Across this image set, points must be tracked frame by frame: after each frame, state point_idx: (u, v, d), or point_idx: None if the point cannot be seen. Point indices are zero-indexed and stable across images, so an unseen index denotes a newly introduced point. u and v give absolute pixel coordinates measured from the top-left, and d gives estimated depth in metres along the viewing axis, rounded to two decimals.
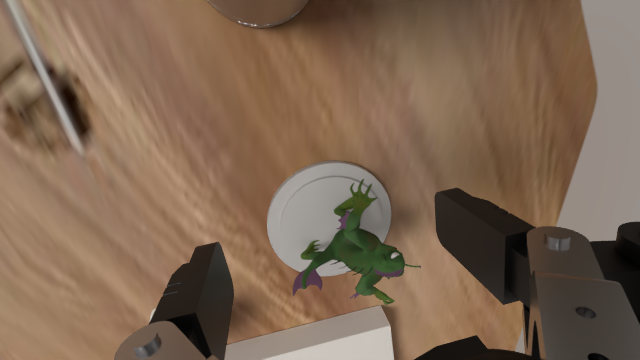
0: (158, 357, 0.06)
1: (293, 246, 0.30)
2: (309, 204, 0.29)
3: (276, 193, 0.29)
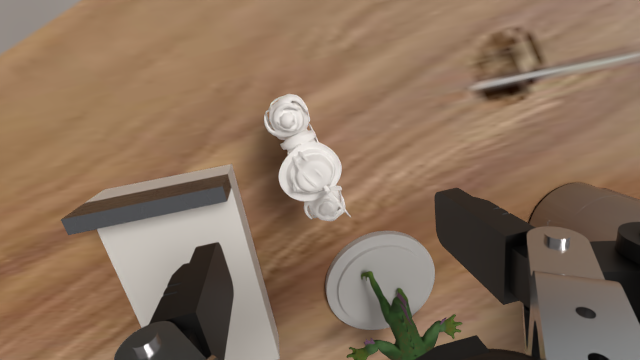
0: (158, 357, 0.06)
1: (367, 258, 0.32)
2: (406, 268, 0.33)
3: (414, 239, 0.33)
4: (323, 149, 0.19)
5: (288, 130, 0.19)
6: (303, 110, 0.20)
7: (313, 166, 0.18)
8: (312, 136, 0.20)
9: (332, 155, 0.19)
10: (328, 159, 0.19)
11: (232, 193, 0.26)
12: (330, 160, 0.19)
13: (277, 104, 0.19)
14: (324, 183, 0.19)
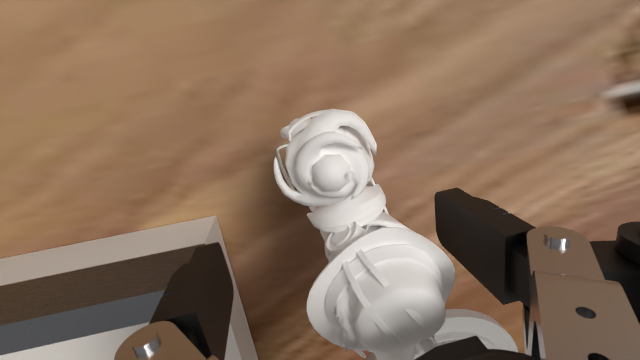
0: (158, 357, 0.06)
1: None
2: None
3: (494, 321, 0.22)
4: (418, 245, 0.08)
5: (331, 195, 0.08)
6: (364, 146, 0.09)
7: (403, 303, 0.07)
8: (381, 203, 0.09)
9: (436, 257, 0.08)
10: (432, 273, 0.08)
11: None
12: (435, 273, 0.08)
13: (306, 133, 0.08)
14: (424, 336, 0.07)
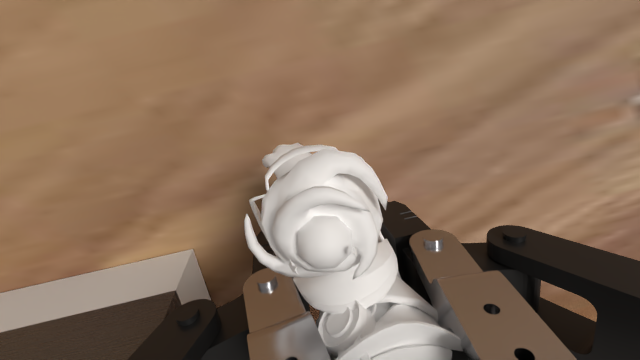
0: (272, 296, 0.07)
1: None
2: None
3: None
4: (447, 345, 0.05)
5: (325, 270, 0.06)
6: (369, 196, 0.06)
7: None
8: (392, 271, 0.07)
9: None
10: None
11: None
12: None
13: (288, 182, 0.06)
14: None
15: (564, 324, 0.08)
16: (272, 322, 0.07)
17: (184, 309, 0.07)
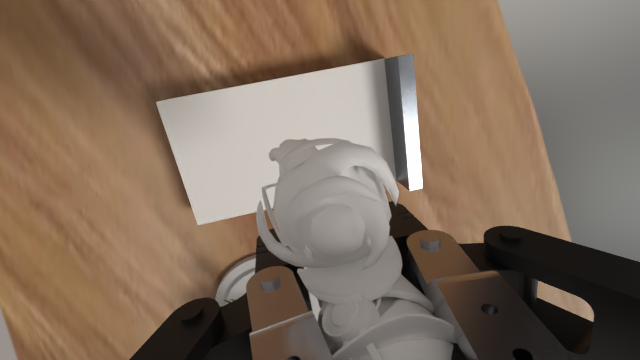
0: (275, 295, 0.07)
1: None
2: None
3: None
4: (451, 340, 0.06)
5: (334, 260, 0.06)
6: (380, 191, 0.06)
7: None
8: (397, 266, 0.07)
9: None
10: None
11: None
12: None
13: (304, 171, 0.06)
14: None
15: (561, 324, 0.08)
16: (275, 321, 0.07)
17: (187, 307, 0.07)
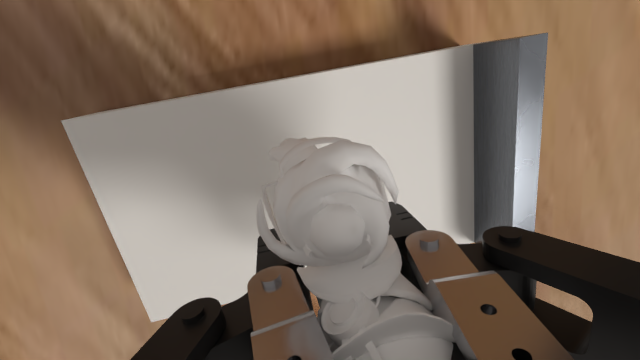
0: (276, 295, 0.07)
1: None
2: None
3: None
4: (450, 338, 0.06)
5: (334, 259, 0.06)
6: (380, 190, 0.06)
7: None
8: (397, 265, 0.07)
9: None
10: None
11: (465, 242, 0.19)
12: None
13: (304, 170, 0.06)
14: None
15: (560, 324, 0.08)
16: (277, 320, 0.07)
17: (189, 307, 0.07)
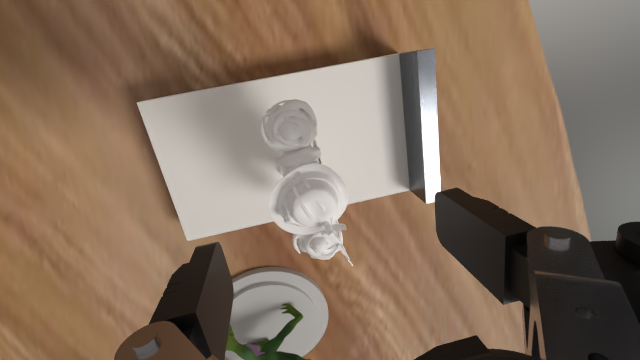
0: (158, 357, 0.06)
1: (306, 306, 0.32)
2: (292, 341, 0.33)
3: None
4: (330, 175, 0.15)
5: (289, 144, 0.15)
6: (311, 122, 0.16)
7: (315, 196, 0.14)
8: (317, 155, 0.16)
9: (339, 183, 0.15)
10: (334, 188, 0.15)
11: (403, 190, 0.27)
12: (336, 190, 0.15)
13: (280, 109, 0.15)
14: (325, 218, 0.15)
15: None
16: None
17: None
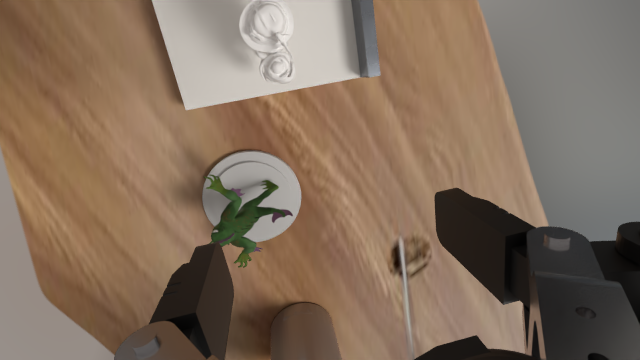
0: (158, 357, 0.06)
1: (282, 184, 0.39)
2: (271, 216, 0.40)
3: None
4: (280, 3, 0.22)
5: None
6: None
7: (268, 9, 0.22)
8: None
9: (286, 10, 0.23)
10: (282, 11, 0.22)
11: (355, 77, 0.35)
12: (284, 13, 0.22)
13: None
14: (276, 29, 0.22)
15: None
16: None
17: None
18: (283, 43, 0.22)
